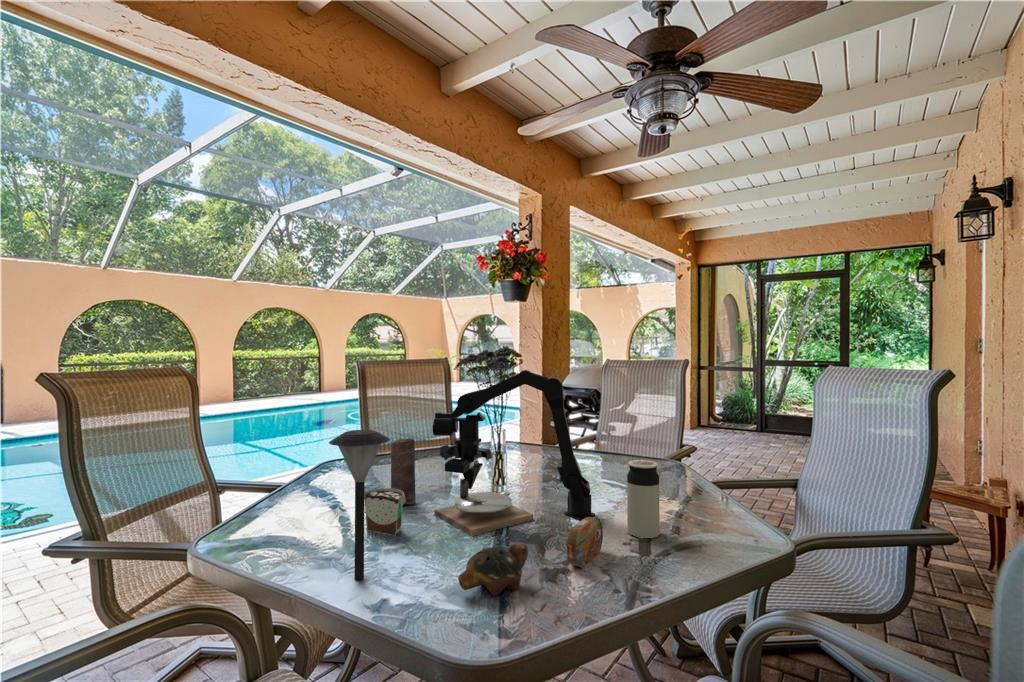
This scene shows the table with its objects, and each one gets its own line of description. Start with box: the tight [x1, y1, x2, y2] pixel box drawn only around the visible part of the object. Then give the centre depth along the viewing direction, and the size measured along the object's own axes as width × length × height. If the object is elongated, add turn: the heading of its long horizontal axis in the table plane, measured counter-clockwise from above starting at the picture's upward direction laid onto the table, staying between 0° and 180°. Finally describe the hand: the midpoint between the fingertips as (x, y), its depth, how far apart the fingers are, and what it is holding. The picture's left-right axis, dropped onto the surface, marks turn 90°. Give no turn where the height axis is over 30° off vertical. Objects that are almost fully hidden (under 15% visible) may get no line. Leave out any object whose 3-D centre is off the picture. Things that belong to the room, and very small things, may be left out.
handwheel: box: [454, 477, 513, 514], centre depth 138 cm, size 16×16×8 cm
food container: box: [364, 487, 406, 537], centre depth 128 cm, size 12×6×10 cm, turn 65°
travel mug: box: [626, 459, 661, 539], centre depth 125 cm, size 8×8×18 cm
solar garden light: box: [328, 429, 391, 582], centre depth 100 cm, size 12×12×30 cm
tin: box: [566, 516, 604, 569], centre depth 110 cm, size 15×3×8 cm, turn 148°
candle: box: [390, 437, 416, 505], centre depth 150 cm, size 8×7×20 cm
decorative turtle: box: [457, 542, 529, 597], centre depth 96 cm, size 10×15×8 cm, turn 126°
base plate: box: [434, 504, 534, 537], centre depth 137 cm, size 20×20×2 cm
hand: (469, 488), depth 144 cm, fingers closed
